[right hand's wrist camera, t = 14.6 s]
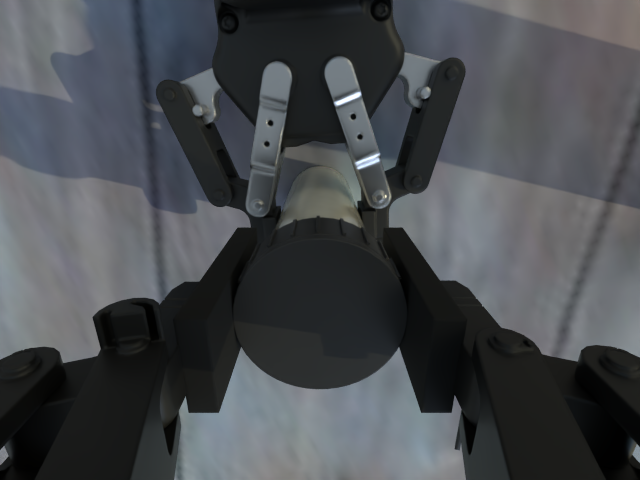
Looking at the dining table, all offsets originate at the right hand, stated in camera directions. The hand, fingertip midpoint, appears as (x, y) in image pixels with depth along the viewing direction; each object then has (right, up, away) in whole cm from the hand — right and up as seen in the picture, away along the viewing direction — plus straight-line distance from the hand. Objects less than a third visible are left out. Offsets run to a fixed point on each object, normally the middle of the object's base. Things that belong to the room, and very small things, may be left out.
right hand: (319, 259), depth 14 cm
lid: (0, -1, -4) cm, 4 cm away
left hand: (0, -1, +5) cm, 5 cm away
